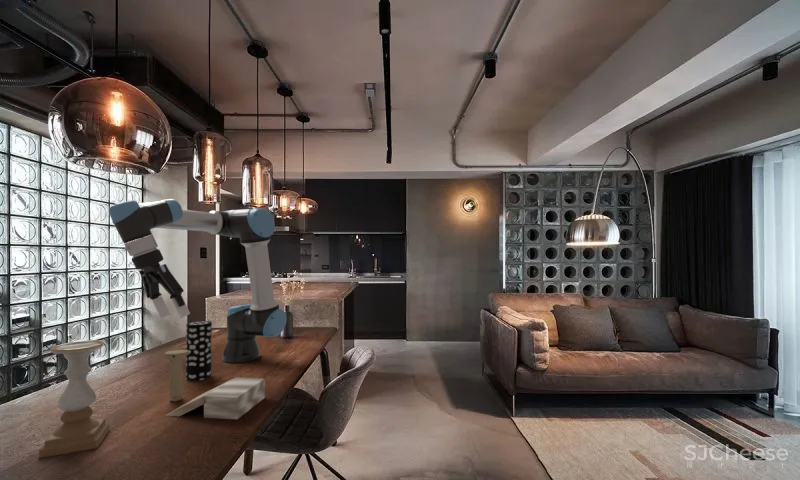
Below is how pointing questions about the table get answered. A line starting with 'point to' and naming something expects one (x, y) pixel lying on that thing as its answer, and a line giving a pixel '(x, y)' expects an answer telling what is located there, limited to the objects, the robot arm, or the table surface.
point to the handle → (176, 373)
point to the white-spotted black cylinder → (198, 350)
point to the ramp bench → (227, 399)
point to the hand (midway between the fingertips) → (175, 316)
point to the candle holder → (76, 405)
